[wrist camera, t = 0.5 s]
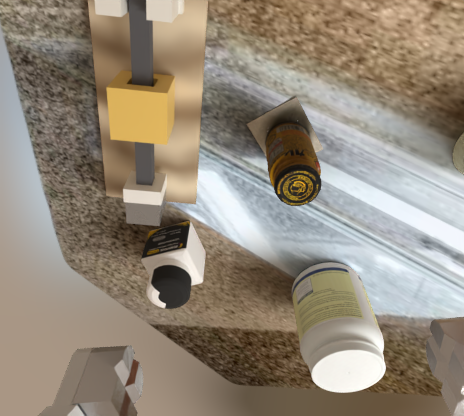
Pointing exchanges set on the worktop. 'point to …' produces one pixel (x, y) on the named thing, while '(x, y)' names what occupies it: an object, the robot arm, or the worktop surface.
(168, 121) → the sleeve
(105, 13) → the white bar support
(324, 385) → the supplement tub
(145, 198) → the white rectangular block
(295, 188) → the condiment
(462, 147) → the can
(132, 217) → the block
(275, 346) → the worktop surface
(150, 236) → the medicine bottle
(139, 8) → the dark gray bar
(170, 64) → the board
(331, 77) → the worktop surface
